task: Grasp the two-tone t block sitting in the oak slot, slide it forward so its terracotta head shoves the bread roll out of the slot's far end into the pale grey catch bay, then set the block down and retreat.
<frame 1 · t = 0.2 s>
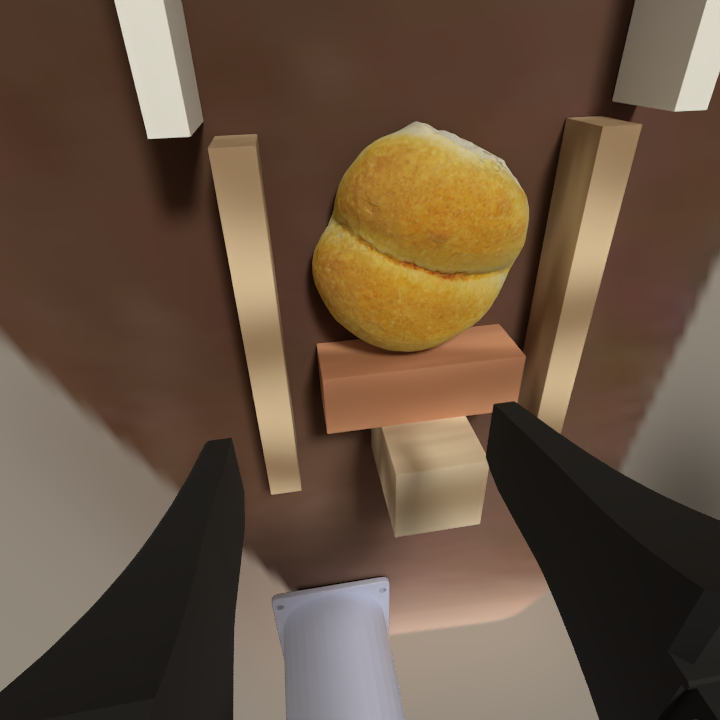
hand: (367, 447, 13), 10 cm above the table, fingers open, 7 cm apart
slot rails: (411, 313, 23), on the table
bread roll: (410, 234, 21), on the table
two-tone t block: (407, 414, 26), on the table
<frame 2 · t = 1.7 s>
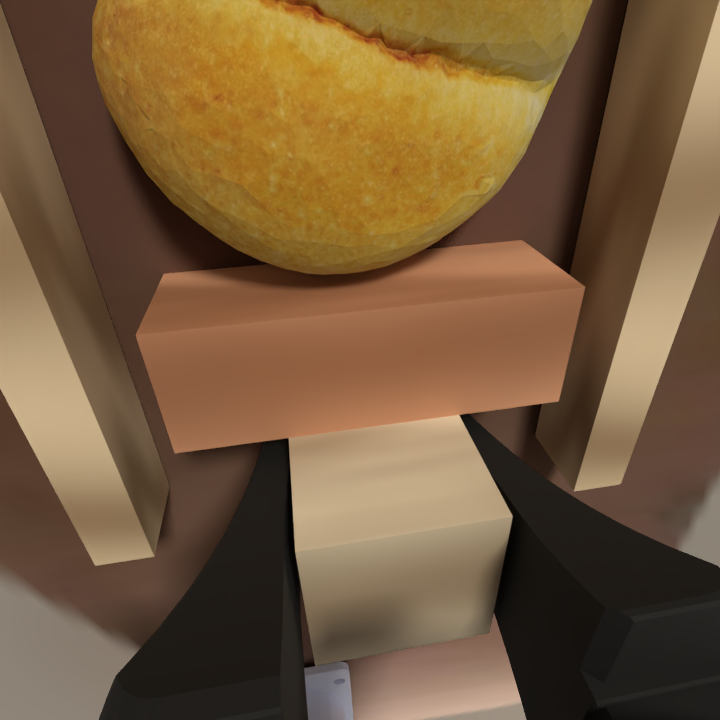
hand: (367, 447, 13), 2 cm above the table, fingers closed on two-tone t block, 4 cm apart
slot rails: (349, 212, 11), on the table
bread roll: (337, 20, 10), on the table
two-tone t block: (358, 413, 15), on the table, touching gripper
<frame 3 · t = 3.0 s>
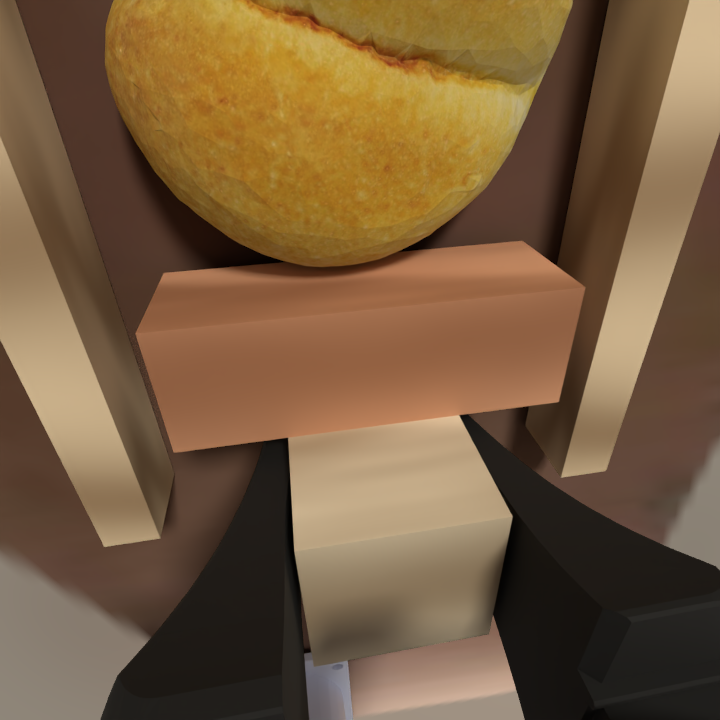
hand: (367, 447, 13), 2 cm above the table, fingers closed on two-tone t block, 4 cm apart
slot rails: (345, 210, 12), on the table
bread roll: (333, 27, 10), on the table
two-tone t block: (358, 413, 15), point 1 cm above the table, touching gripper
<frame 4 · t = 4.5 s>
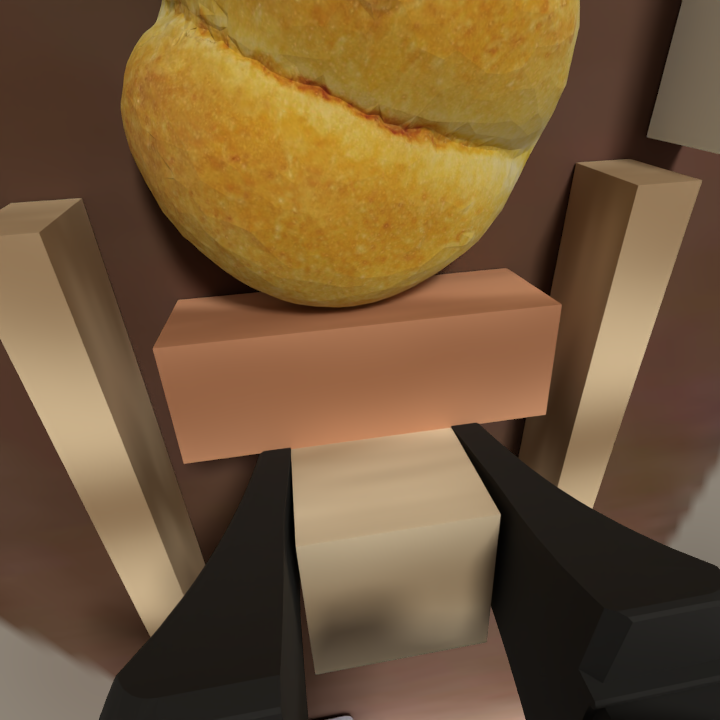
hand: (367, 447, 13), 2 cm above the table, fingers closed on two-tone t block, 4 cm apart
slot rails: (356, 431, 16), on the table
bread roll: (341, 80, 11), on the table
two-tone t block: (358, 434, 15), point 1 cm above the table, tilted 6°, touching gripper
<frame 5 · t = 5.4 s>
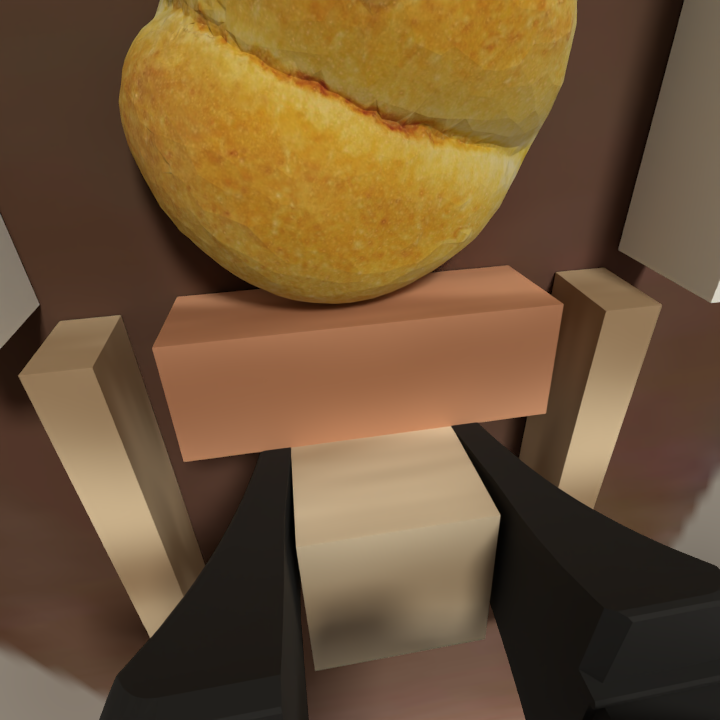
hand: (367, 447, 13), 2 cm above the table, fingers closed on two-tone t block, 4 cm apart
slot rails: (359, 494, 18), on the table
bread roll: (340, 76, 11), on the table
two-tone t block: (357, 430, 15), on the table, touching gripper
when the fingers open (2 cm above the table, at t = 7.1 s): two-tone t block stays where it is, on the table.
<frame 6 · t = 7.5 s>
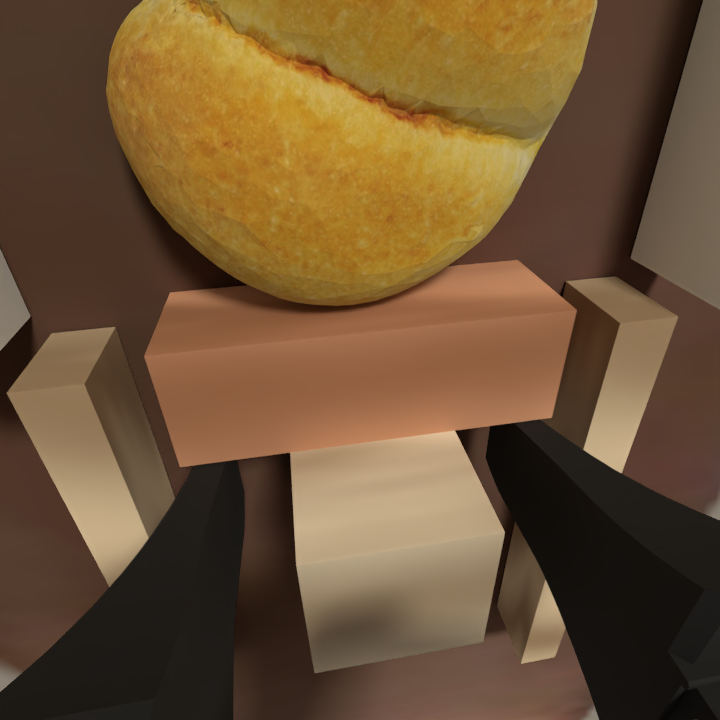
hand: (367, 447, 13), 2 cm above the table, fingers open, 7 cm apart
slot rails: (362, 507, 17), on the table
bread roll: (342, 65, 10), on the table
two-tone t block: (357, 424, 15), on the table
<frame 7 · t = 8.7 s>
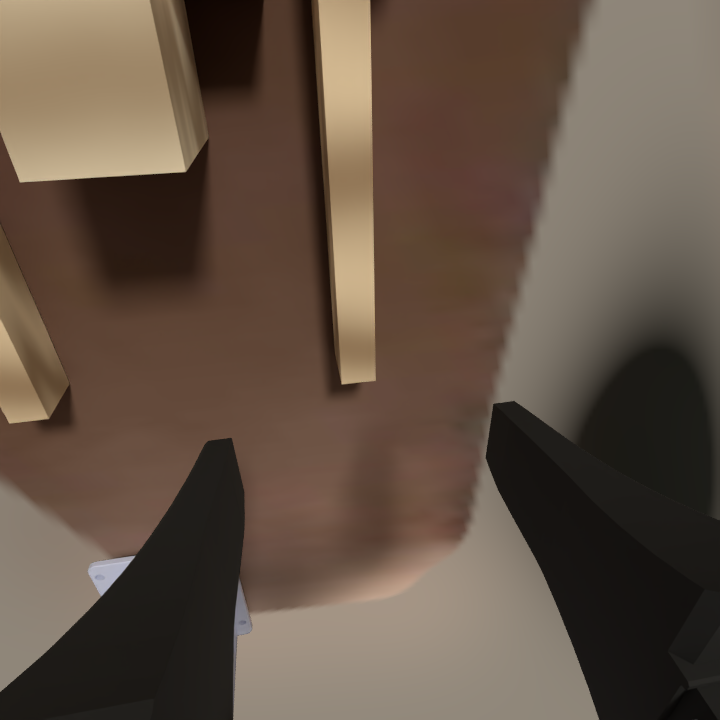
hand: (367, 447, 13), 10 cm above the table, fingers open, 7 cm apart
slot rails: (163, 191, 18), on the table
two-tone t block: (135, 75, 16), on the table
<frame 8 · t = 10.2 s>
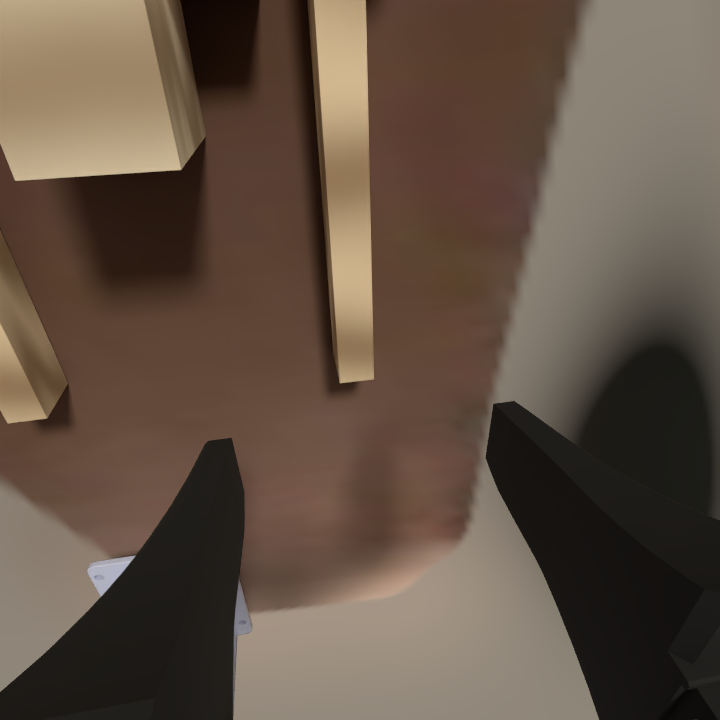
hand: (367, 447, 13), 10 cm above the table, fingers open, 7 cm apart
slot rails: (160, 190, 18), on the table
two-tone t block: (132, 74, 16), on the table
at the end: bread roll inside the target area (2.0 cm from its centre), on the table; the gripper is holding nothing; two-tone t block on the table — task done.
